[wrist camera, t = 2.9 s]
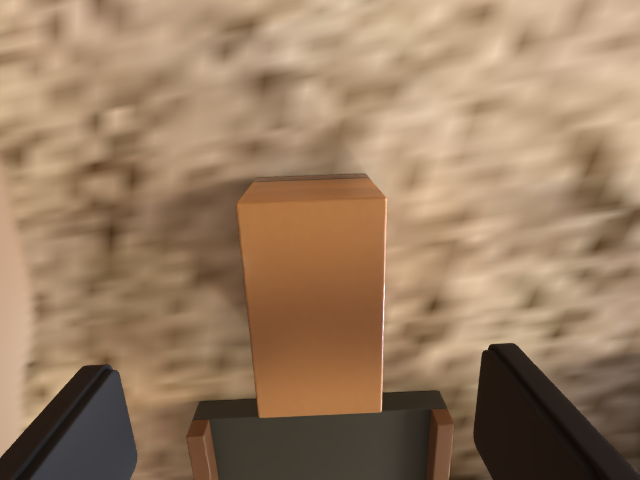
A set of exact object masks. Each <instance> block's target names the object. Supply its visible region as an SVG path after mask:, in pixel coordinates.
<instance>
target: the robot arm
mask: <svg viewBox="0 0 640 480" xmlns="http://www.w3.org/2000/svg"><path fill="white" fill-rule="evenodd" d="M473 436H474V442H475V445H476V448H477V450H478V452H479V454H480V456H481V458H482V459H483V461H484V463H485V465H486V467H487V469H488V471H489V473H490V475H491V477H492V478H493V480H640V475H639V474H638V473H637V472H636V471H635V470H634V469H633V467H632V466H631V465H630V464H629V463H628V462H627V461H626V460H625V459H624V458H623V457H622V456H621V455H620V454H619V453H618V452H617V451H616V450H615V448H614V447H613V446H612V445H611V444H610V443H609V442H608V441H607V440H606V439H605V438H604V437H603V436H602V435H601V434H600V433H599V432H598V431H597V429H596V428H595V427H594V426H593V425H592V424H591V423H590V422H589V421H588V420H587V419H586V418H585V417H584V416H583V415H582V414H581V413H580V411H579V410H578V409H577V408H576V407H575V406H574V405H573V404H572V403H571V402H570V401H569V400H568V399H567V398H566V397H565V396H564V395H563V394H562V392H561V391H560V390H559V389H558V388H557V387H556V386H555V385H554V384H553V383H552V382H551V381H550V380H549V379H548V378H547V377H546V376H545V375H544V373H543V372H542V371H541V370H540V369H539V368H538V367H537V366H536V365H535V364H534V363H533V362H532V361H531V360H530V359H529V358H528V357H527V355H526V354H525V353H524V352H523V351H522V350H521V349H520V348H519V347H518V346H517V345H516V344H514V343H505V344H491V345H490V346H489V347H488V350H485V351H483V353H482V358H481V367H480V376H479V385H478V395H477V404H476V413H475V422H474V432H473ZM136 463H137V450H136V445H135V441H134V436H133V432H132V427H131V423H130V419H129V414H128V410H127V405H126V401H125V396H124V392H123V388H122V383H121V379H120V375H119V372H118V371H117V370H113V369H112V367H111V366H110V365H108V364H107V365H88V366H83V367H82V368H81V369H80V370H79V371H78V372H77V373H76V374H75V375H74V376H73V378H72V379H71V380H70V381H69V382H68V383H67V384H66V385H65V386H64V388H63V389H62V390H61V391H60V392H59V393H58V394H57V395H56V396H55V398H54V399H53V400H52V401H51V402H50V403H49V404H48V405H47V406H46V408H45V409H44V410H43V411H42V412H41V413H40V414H39V415H38V416H37V418H36V419H35V420H34V421H33V422H32V423H31V424H30V425H29V426H28V428H27V429H26V430H25V431H24V432H23V433H22V434H21V435H20V437H19V438H18V439H17V440H16V441H15V442H14V443H13V444H12V445H11V447H10V448H9V449H8V450H7V451H6V452H5V453H4V454H3V456H2V457H1V458H0V480H130V478H131V476H132V474H133V472H134V470H135V467H136Z"/></svg>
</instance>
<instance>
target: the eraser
mask: <svg viewBox="0 0 640 480" xmlns="http://www.w3.org/2000/svg"><path fill="white" fill-rule="evenodd" d="M236 210H237V220H238V229H239V238H240V248H241V257H242V267H243V276H244V285H245V295H246V304H247V314H248V323H249V332H250V342H251V351H252V361H253V370H254V379H255V389H256V398H257V408H258V416H259V418H269V417H291V416H313V415H334V414H356V413H378V412H381V411H382V384H383V343H384V302H385V261H386V221H387V198H386V197H385V195H384V194H383V193H382V192H381V191H380V190H379V189H378V187H377V186H376V185H375V184H374V183H373V182H372V181H371V179H370V178H369V177H368V176H367V175H366V174H341V175H314V176H287V177H260V178H256V179H255V180H254V181H253V183H252V184H251V185H250V187H249V188H248V189H247V190H246V192H245V193H244V194H243V195H242V197H241V198H240V199H239V201H238V202H237V203H236Z"/></svg>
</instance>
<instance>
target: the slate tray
mask: <svg viewBox="0 0 640 480" xmlns="http://www.w3.org/2000/svg"><path fill="white" fill-rule="evenodd" d="M453 434H454V422H453V420H452V418H451V416H450V414H449V412H448V410H447V407H446V405H445V402H444V400H443V398H442V396H441V394H440V392H439V391H424V392H402V393H382V411H381V412H378V413H356V414H334V415H313V416H291V417H269V418H259V416H258V408H257V399H248V400H226V401H204V402H199V405H198V407H197V410H196V412H195V415H194V418H193V421H192V423H191V426H190V428H189V431H188V434H187V436H186V438H187V444H188V449H189V454H190V460H191V465H192V470H193V476H194V480H449V473H450V463H451V453H452V443H453Z"/></svg>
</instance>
